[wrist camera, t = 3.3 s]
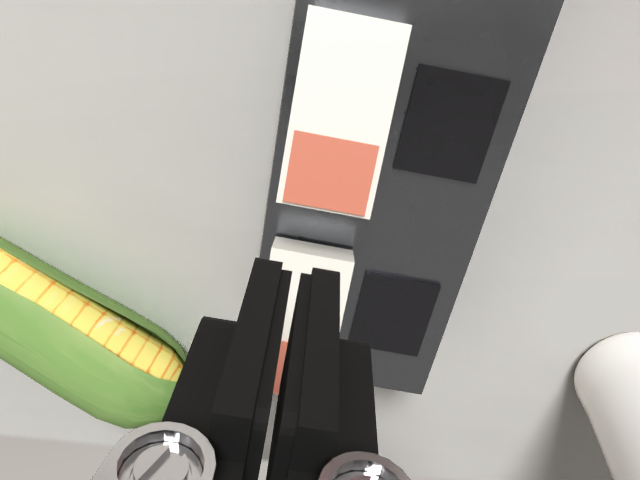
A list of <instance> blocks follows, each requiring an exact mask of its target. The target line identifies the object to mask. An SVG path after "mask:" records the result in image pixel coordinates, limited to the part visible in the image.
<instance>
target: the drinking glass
mask: <svg viewBox="0 0 640 480" xmlns="http://www.w3.org/2000/svg"><path fill="white" fill-rule="evenodd" d="M574 386H575V390H576V393H577V396H578V398H579V400H580V402H581V404H582V406H583V408H584V410H585V412H586V414H587V416H588V418H589V420H590V422H591V425H592V427H593V430H594V432H595V435H596V437H597V440H598V442H599V445H600V447H601V450H602V452H603V455H604V458H605V460H606V463H607V465H608V468H609V470H610V473H611V475H612V478H613V480H640V332H626V333H620V334H617V335H613V336H611V337H608V338H606V339H604V340H602V341H600V342H598V343H597V344H595V345H594V346H593V347H591V348H590V349H589V350H588V351H587V352H586V353H585V354H584V355H583V356H582V358H581V359H580V361H579V363H578V365H577V367H576V370H575V374H574Z"/></svg>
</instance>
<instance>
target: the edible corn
mask: <svg viewBox="0 0 640 480" xmlns="http://www.w3.org/2000/svg"><path fill="white" fill-rule="evenodd" d="M0 358H1V359H2V360H4V361H5V362H7V363H8V364H10V365H11V366H13V367H14V368H16V369H18V370H19V371H21V372H22V373H24V374H25V375H27V376H28V377H30V378H31V379H33V380H35V381H36V382H38V383H39V384H41V385H42V386H44V387H45V388H47V389H49V390H50V391H52V392H53V393H55V394H56V395H58V396H60V397H61V398H63V399H65V400H66V401H68V402H70V403H71V404H73V405H75V406H76V407H78V408H80V409H82V410H83V411H85V412H87V413H88V414H90V415H92V416H93V417H95V418H97V419H100V420H102V421H105V422H108V423H111V424H114V425H117V426H120V427H123V428H139V427H142V426H145V425H148V424H150V423H157V422H161V421H162V419H163V416H164V414H165V411H166V409H167V406H168V403H169V401H170V398H171V396H172V393H173V391H174V388H175V385H176V383H177V380H178V378H179V375H180V373H181V370H182V367H183V365H184V362H185V360H186V355H185V353H184V351H183V349H182V347H181V346H180V344H179V343H177V342H176V341H175V340H174V339H173V338H172V337H171V336H170V335H169V334H167V333H166V332H165V331H164V330H163V329H162V328H160V327H159V326H157V325H155V324H154V323H152V322H150V321H149V320H147V319H145V318H143V317H142V316H140V315H138V314H137V313H135V312H133V311H132V310H130V309H128V308H127V307H125V306H123V305H121V304H119V303H117V302H115V301H114V300H112V299H110V298H108V297H106V296H104V295H103V294H101V293H99V292H97V291H95V290H93V289H91V288H90V287H88V286H86V285H84V284H82V283H80V282H79V281H77V280H75V279H73V278H71V277H69V276H68V275H66V274H64V273H62V272H61V271H59V270H57V269H55V268H54V267H52V266H50V265H48V264H47V263H45V262H43V261H41V260H40V259H38V258H36V257H34V256H32V255H31V254H29V253H27V252H25V251H24V250H22V249H20V248H18V247H17V246H15V245H13V244H11V243H10V242H8V241H6V240H4V239H3V238H1V237H0Z"/></svg>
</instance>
